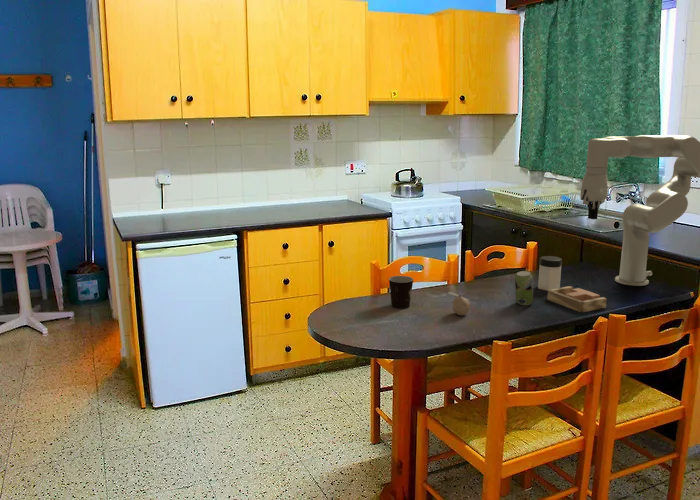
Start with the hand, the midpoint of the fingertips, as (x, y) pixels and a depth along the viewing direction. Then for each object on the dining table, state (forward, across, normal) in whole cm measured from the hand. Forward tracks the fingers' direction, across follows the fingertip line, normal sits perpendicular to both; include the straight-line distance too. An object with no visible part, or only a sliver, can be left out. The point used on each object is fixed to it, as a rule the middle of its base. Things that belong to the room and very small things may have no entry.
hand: (592, 218), depth 249 cm
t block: (+27, +20, +14) cm, 37 cm away
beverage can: (+27, +39, +6) cm, 48 cm away
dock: (+27, +21, +14) cm, 37 cm away
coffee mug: (+27, +81, -12) cm, 86 cm away
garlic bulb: (+27, +66, +5) cm, 72 cm away
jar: (+27, +16, -4) cm, 32 cm away
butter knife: (+27, +53, -6) cm, 60 cm away
